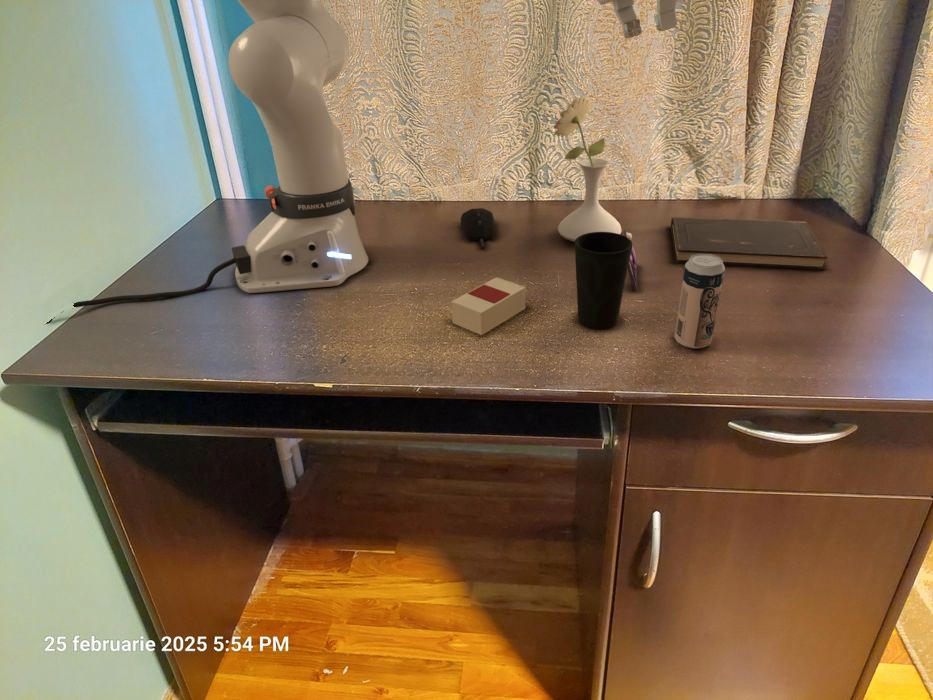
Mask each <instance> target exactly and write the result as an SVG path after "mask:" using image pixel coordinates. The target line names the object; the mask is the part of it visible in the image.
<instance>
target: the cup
mask: <svg viewBox="0 0 933 700" xmlns="http://www.w3.org/2000/svg"><path fill="white" fill-rule="evenodd" d="M632 246H633V247H634V245H633V241H632V239H631V240H630V239H629V238H627V237H626V236H624V234H621V233H620V234H617V233H612V232H591V233H587V234H583V235H581V236H579V237H578V238H576V240H575V242H574V258H575V280H576V281H575V282H576V301H577V321H578V323H579V324H580V325H581V326H582V327H584V328H586V329H590V330H595V331H596V330H597V331H599V330H600V331H603V330H609V329H612V328H614V327H615V326H616V325H617V324H618V320H619V315H620V310H621V306H622V305H621V304H622V301H623V296H624V291H625V286H626V280H627V276H628V274H627V273H628V272H629V270H628V266H629V261H630V256H631V251H632V249H633V247H632Z"/></svg>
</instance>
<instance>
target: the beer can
mask: <svg viewBox="0 0 933 700" xmlns="http://www.w3.org/2000/svg"><path fill="white" fill-rule="evenodd" d="M683 270H684V271H683V277H682V284H681V290H680V297H679V304H678V311H677V317H676V324H675V331H674V339H675V341H676V342H677V343H678V344H680V345H681V346H683V347H684V348H685V347H686V348H689V349H694V350H695V349H702V348H706V347H708V346H710V345H711V344H712V342H713V337H714V331H715V326H716V321H717V315H718V309H719V305H720V298H721V293H722V286H723V281H724V277H725V276H724V275H725V271H726V266H725V265H724V264H723V261H722V260H721V258H720V257H718V256H715V255H712V254H701V253H700V254H696V255H692V256H691V258H690V259H689V261H688V262H687V263H684V269H683Z"/></svg>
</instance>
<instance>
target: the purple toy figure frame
mask: <svg viewBox="0 0 933 700" xmlns="http://www.w3.org/2000/svg"><path fill="white" fill-rule="evenodd" d="M623 236H626V237H627V238H629V239H630V240H631V241H632V239H633V235H632V233H630V232H628V231H627V229H625V230H623ZM636 257H637V256H636V252H635V249H634V245H633V246H632V251H631V256H630V261H629V266H628V273H629V276H630V280H631V284H632V287H633V290H634V291H637V290H638V278H637V277H638V274H637V270H638V269H637V268H638V267H637V258H636Z"/></svg>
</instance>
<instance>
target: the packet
mask: <svg viewBox="0 0 933 700" xmlns="http://www.w3.org/2000/svg"><path fill="white" fill-rule="evenodd" d="M526 293H527V291H526V286H523V285H520V284H518V283H515V282H512V281H509V280H506V279H503V278H500V277H497V276H496V277H494V278H492V279H490V280H489V281H487V282H484V283H483V284H481V285H479V286H477V287H476V288H474V289H472V290H470V291H468V292H466V293H464V294H463V295H461V296H458V297H457V298H455V299H453V300H451V317H452V324H453V325H456V326H459V327H460V328H462V329H466V330H468V331H470V332H472V333H475V334H477V335H480V336H483V335H484V334H486V333H488V332H490V331H491V330H493V329H495V328H496V327H498V326H499V325H501V324H503V323H504V322H506V321H508V320H509V319H511V318H513V317H515V316H516V315H518V314H519V313H521V312H523V311H524V310H525V309H526Z"/></svg>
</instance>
